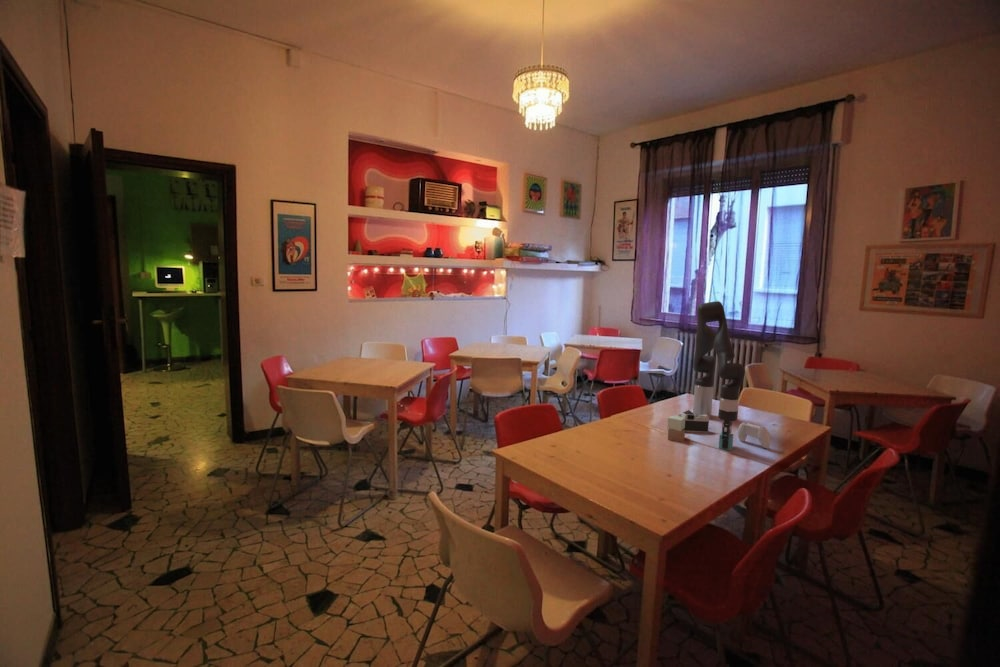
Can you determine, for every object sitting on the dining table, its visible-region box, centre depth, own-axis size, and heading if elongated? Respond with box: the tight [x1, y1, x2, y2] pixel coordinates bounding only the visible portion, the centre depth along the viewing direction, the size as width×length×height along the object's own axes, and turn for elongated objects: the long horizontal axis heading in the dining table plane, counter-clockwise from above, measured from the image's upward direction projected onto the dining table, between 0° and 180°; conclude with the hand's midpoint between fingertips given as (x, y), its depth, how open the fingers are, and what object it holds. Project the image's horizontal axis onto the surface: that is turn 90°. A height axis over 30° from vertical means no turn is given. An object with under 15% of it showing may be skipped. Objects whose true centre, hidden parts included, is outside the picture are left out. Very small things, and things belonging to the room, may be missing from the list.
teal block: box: [718, 431, 734, 451], centre depth 206 cm, size 5×5×6 cm
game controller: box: [737, 421, 771, 450], centre depth 211 cm, size 14×4×10 cm, turn 31°
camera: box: [675, 409, 710, 433], centre depth 232 cm, size 16×9×10 cm, turn 84°
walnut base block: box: [667, 428, 686, 443], centre depth 218 cm, size 7×7×5 cm
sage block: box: [667, 415, 685, 431], centre depth 218 cm, size 6×6×5 cm
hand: (725, 446), depth 207 cm, fingers closed on teal block, 5 cm apart
